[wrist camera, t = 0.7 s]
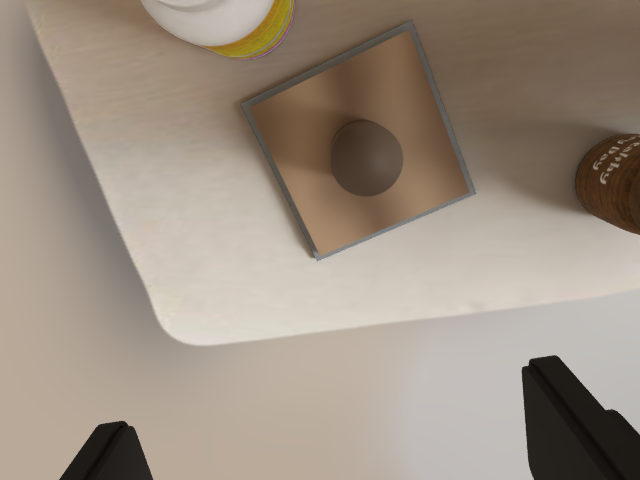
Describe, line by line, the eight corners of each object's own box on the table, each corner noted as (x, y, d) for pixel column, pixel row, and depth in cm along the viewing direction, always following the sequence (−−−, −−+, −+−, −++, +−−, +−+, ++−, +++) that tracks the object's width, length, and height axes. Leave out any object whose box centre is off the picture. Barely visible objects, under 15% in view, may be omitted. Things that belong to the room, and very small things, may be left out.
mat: (410, 20, 29) (411, 19, 29) (473, 192, 32) (475, 193, 32) (241, 103, 31) (240, 104, 31) (317, 258, 34) (317, 261, 34)
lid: (407, 31, 29) (424, 15, 24) (466, 190, 32) (494, 209, 26) (250, 108, 31) (232, 110, 25) (320, 252, 33) (318, 283, 28)
